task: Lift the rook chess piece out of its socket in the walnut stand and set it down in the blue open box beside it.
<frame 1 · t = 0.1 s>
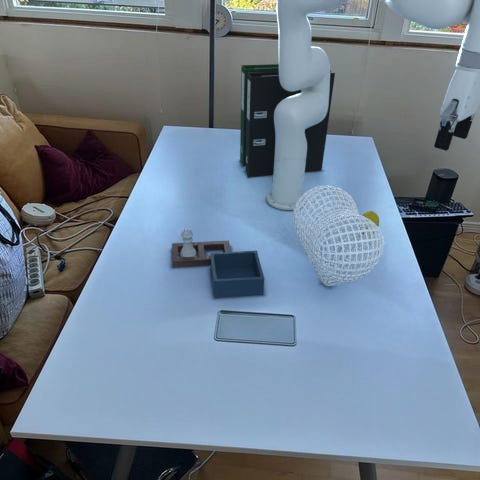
hand: (450, 142, 107), 31 cm above the table, tool pointing down, fingers open, 9 cm apart
rook chess piece: (188, 258, 126), resting in stand
stand: (201, 256, 126), on the table
lemon: (366, 236, 135), on the table
binder: (280, 167, 170), on the table
blue open box: (236, 281, 118), on the table
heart: (326, 283, 118), on the table
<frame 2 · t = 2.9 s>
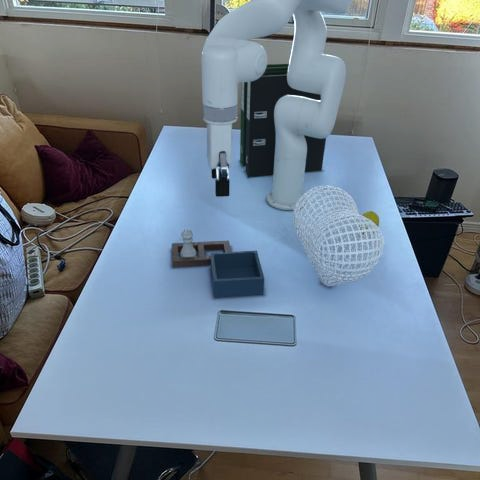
hand: (220, 186, 112), 21 cm above the table, tool pointing down, fingers open, 9 cm apart
nothing on the table moved.
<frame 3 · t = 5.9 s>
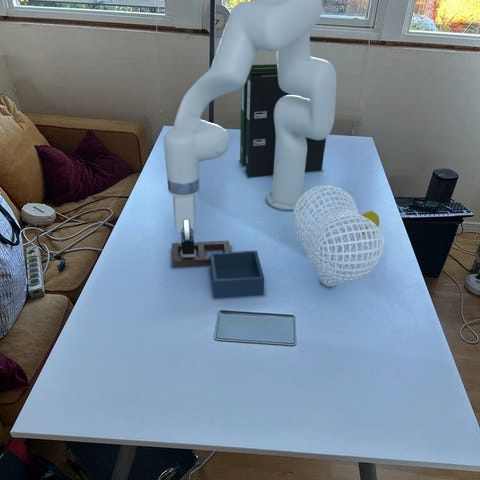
hand: (188, 248, 124), 3 cm above the table, tool pointing down, fingers closed on rook chess piece, 3 cm apart
rook chess piece: (188, 258, 126), resting in stand, touching gripper
everything else where it was.
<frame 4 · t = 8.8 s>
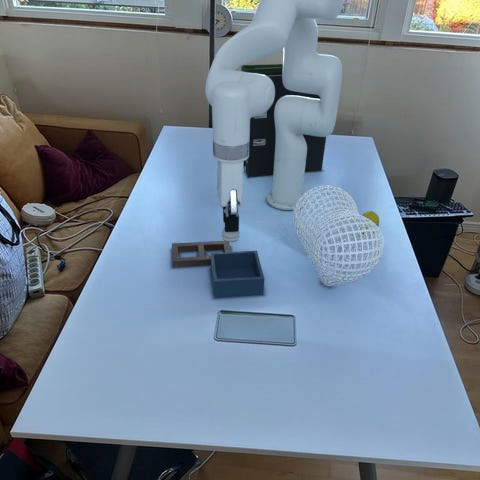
hand: (230, 225, 109), 15 cm above the table, tool pointing down, fingers closed on rook chess piece, 3 cm apart
rook chess piece: (230, 238, 111), point 12 cm above the table, touching gripper
everything else where it was.
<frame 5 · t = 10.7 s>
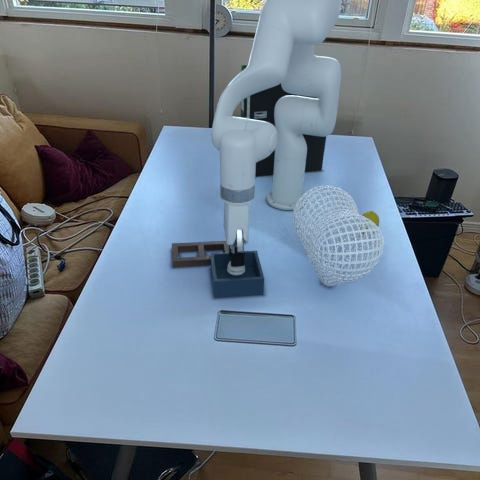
hand: (236, 260, 114), 7 cm above the table, tool pointing down, fingers closed on rook chess piece, 3 cm apart
rook chess piece: (236, 272, 116), point 3 cm above the table, touching gripper
everything else where it was.
when the fingers open (4 cm above the table, at t = 11.7 s): rook chess piece stays where it is, resting on blue open box.
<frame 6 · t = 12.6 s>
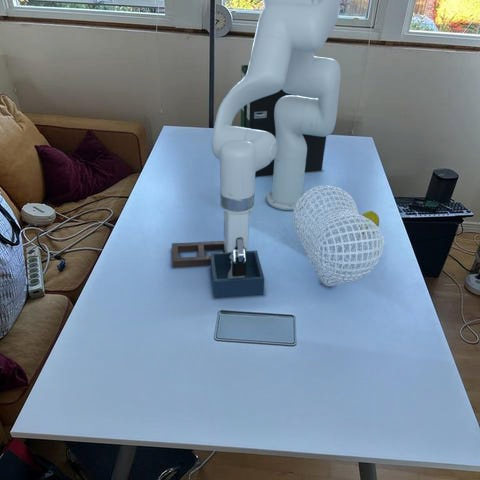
hand: (236, 263, 114), 6 cm above the table, tool pointing down, fingers open, 9 cm apart
rook chess piece: (236, 280, 118), resting on blue open box
everything else where it was.
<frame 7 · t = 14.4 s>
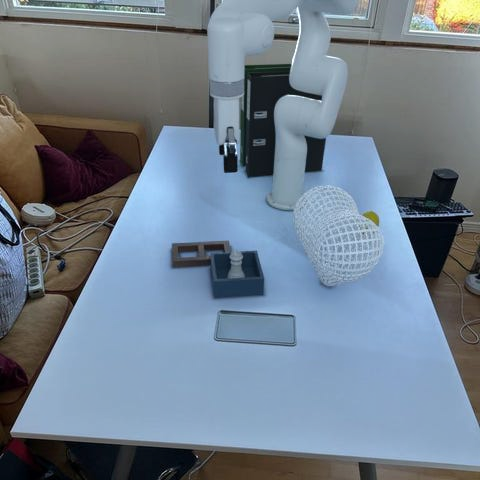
hand: (228, 163, 112), 25 cm above the table, tool pointing down, fingers open, 9 cm apart
nothing on the table moved.
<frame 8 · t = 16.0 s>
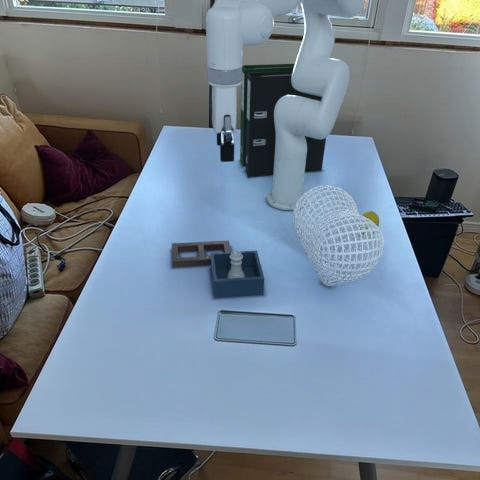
hand: (225, 152, 113), 26 cm above the table, tool pointing down, fingers open, 9 cm apart
nothing on the table moved.
at the end: rook chess piece inside the target area in the blue open box (0.0 cm from its centre), point 0.4 cm above the blue open box's base; the gripper is holding nothing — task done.
